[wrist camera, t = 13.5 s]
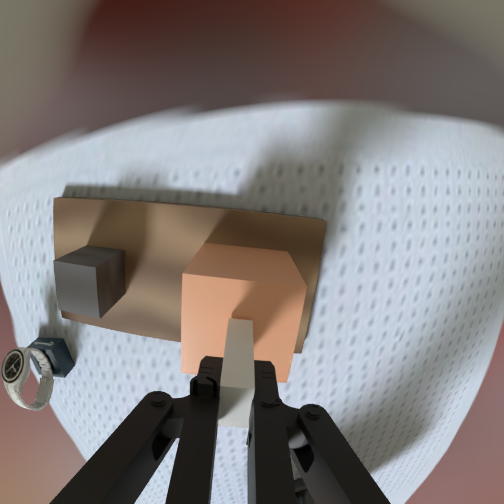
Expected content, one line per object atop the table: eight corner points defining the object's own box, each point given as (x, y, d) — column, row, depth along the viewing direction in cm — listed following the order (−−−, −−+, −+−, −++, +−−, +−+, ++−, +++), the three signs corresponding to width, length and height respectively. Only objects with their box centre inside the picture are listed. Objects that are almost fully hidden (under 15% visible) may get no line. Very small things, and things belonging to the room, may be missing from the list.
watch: (58, 325, 29) (9, 369, 19) (79, 375, 31) (43, 425, 21) (32, 325, 30) (-14, 363, 19) (53, 372, 31) (17, 416, 21)
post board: (299, 346, 30) (311, 389, 23) (68, 312, 29) (34, 340, 22) (322, 219, 27) (348, 232, 19) (61, 196, 26) (17, 203, 18)
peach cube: (276, 325, 28) (286, 382, 19) (199, 317, 27) (181, 372, 19) (287, 251, 26) (307, 286, 17) (204, 242, 26) (182, 273, 17)
